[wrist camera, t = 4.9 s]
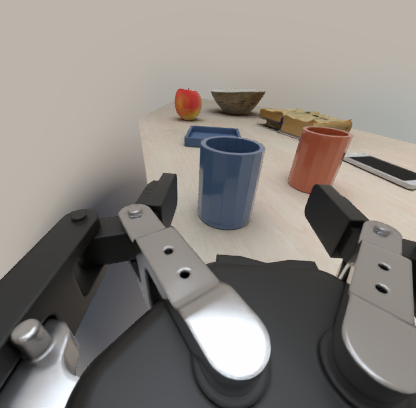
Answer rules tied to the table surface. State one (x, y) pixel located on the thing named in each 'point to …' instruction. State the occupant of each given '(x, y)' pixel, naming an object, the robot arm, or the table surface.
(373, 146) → the table surface
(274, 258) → the table surface
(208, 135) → the blue tray
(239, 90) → the bowl
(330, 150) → the terracotta cup
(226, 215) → the blue cup
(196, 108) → the apple
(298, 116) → the book
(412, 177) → the smartphone
